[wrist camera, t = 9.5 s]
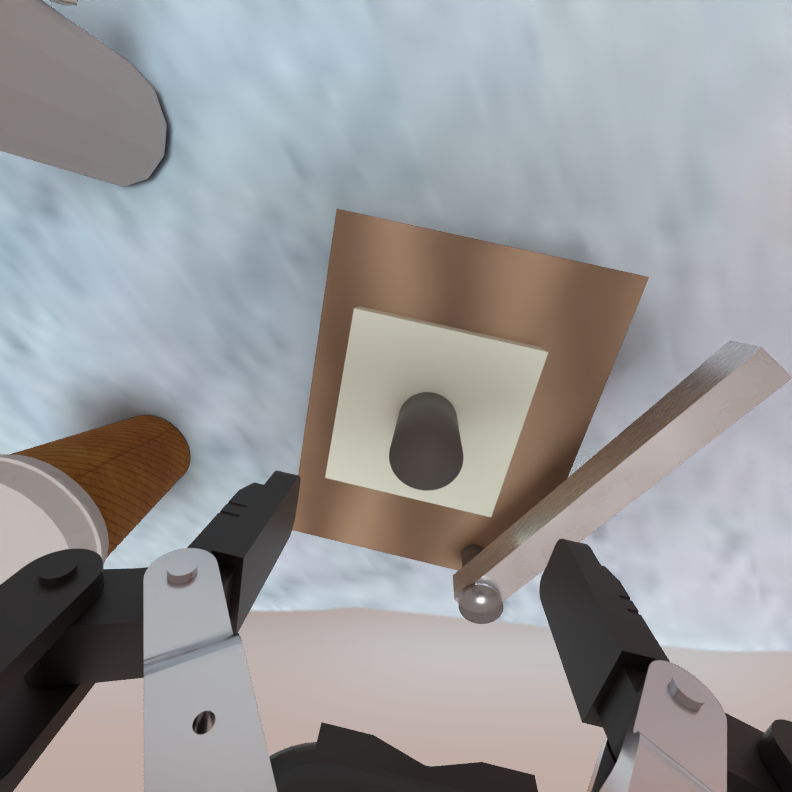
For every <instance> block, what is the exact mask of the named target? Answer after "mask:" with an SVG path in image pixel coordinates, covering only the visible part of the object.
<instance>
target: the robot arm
mask: <svg viewBox="0 0 792 792" xmlns="http://www.w3.org/2000/svg"><path fill="white" fill-rule="evenodd" d="M300 483H301V477H300V476H298V475H293V474H289V473H285V472H281V471H275V472H274V473H273V474H272V476H271V477H270V478H269V479H268V481H267V482H266V483H265V484H264V485H262V484H258V483H252V484H250V485H249V486H247V487H245V488H243V489H241V490H239V491H238V492H237V493H236V494H235V495H234V496H233V498H232V499H231V500H230V501H229V503H228V504H226V505H225V506H224V508H223V509H222V510H221V512H220V513H218V514H217V515H216V516H215V518H214V519H213V520H212V521H211V522H210V523H209V524H208V525H207V526H206V528H205V529H204V530H203V531H202V532H201V533H200V534H199V535H198V536H197V538H196V539H195V540H194V541H193V542H192V543H191V544H190V545H189V546H188V548H184V549H179V550H175V551H172V552H169V553H167V554H165V555H163V556H161V557H159V558H158V559H156V560H155V561H154V562H153V563H152V564H151V565H150V566H149V567H147V568H135V569H103V560H102V558H101V556H100V555H99V554H98V553H96V552H94V551H92V550H88V549H66V550H60V551H56V552H53V553H50V554H47V555H44V556H42V557H40V558H38V559H36V560H34V561H32V562H30V563H29V564H27V565H26V566H24V567H23V568H21V569H20V570H19V571H18V572H16V573H15V574H14V575H12V576H11V577H10V578H8V579H7V580H6V581H5V582H3V583H2V584H1V585H0V792H13V791H14V789H15V788H16V787H17V785H18V784H19V783H20V782H21V780H22V779H23V778H24V776H25V775H26V774H27V772H28V771H29V770H30V768H31V767H32V766H33V764H34V763H35V762H36V760H37V759H38V758H39V756H40V755H41V754H42V753H43V751H44V750H45V748H46V747H47V745H49V743H50V742H51V741H52V739H53V738H54V737H55V735H56V734H57V733H58V731H59V730H60V729H61V727H62V726H63V725H64V724H65V722H66V721H67V720H68V718H69V717H70V716H71V714H72V713H73V712H74V710H75V709H76V708H77V706H78V705H79V704H80V702H81V701H82V700H83V699H84V697H85V696H86V695H87V693H88V692H89V691H90V689H91V688H92V686H93V685H94V684H95V683H97V682H106V681H116V680H126V679H135V678H144V792H538V790H537V785H536V780H535V775H531V774H527V773H523V772H519V771H515V770H511V769H507V768H503V767H499V766H495V765H491V764H487V763H483V762H479V763H467V764H456V765H445V766H434V767H429V766H425V765H423V764H421V763H419V762H418V761H416V760H414V759H413V758H411V757H409V756H408V755H406V754H404V753H403V752H401V751H399V750H398V749H396V748H394V747H392V746H391V745H389V744H387V743H386V742H384V741H382V740H381V739H379V738H377V737H375V736H374V735H370V734H366V733H362V732H358V731H354V730H350V729H346V728H342V727H338V726H334V725H330V724H326V723H321V727H320V732H319V736H318V740H317V742H313V743H304V744H300V745H296V746H292V747H289V748H286V749H284V750H281V751H279V752H277V753H275V754H273V755H271V756H269V754H268V749H267V745H266V741H265V737H264V732H263V728H262V724H261V719H260V715H259V711H258V706H257V702H256V698H255V694H254V689H253V685H252V681H251V676H250V672H249V668H248V664H247V660H246V655H245V651H244V647H243V643H242V639H241V637H240V635H239V634H238V631H239V629H240V627H241V625H242V624H243V622H244V620H245V618H246V616H247V614H248V613H249V611H250V609H251V607H252V605H253V603H254V602H255V600H256V598H257V596H258V594H259V592H260V591H261V589H262V587H263V585H264V583H265V581H266V580H267V578H268V576H269V574H270V572H271V570H272V568H273V567H274V565H275V563H276V561H277V559H278V557H279V556H280V554H281V552H282V550H283V548H284V546H285V545H286V543H287V541H288V539H289V537H290V534H291V532H292V529H293V525H294V522H295V516H296V510H297V503H298V496H299V490H300ZM540 599H541V603H542V605H543V608H544V611H545V614H546V617H547V620H548V623H549V626H550V629H551V632H552V635H553V638H554V640H555V643H556V646H557V649H558V652H559V655H560V658H561V661H562V664H563V667H564V670H565V673H566V676H567V679H568V682H569V685H570V688H571V690H572V693H573V696H574V699H575V702H576V705H577V708H578V711H579V714H580V717H581V720H582V722H583V723H587V724H591V725H595V726H599V727H603V728H604V731H605V733H606V735H607V737H606V739H605V740H604V742H603V744H602V746H601V749H600V752H599V755H598V758H597V761H596V764H595V768H594V771H593V774H592V777H591V780H590V783H589V787H588V790H587V792H792V722H790V721H787V720H775V721H774V722H773V723H772V724H771V726H770V727H769V728H768V729H767V731H766V732H765V733H764V732H762V731H760V730H758V729H756V728H754V727H752V726H750V725H748V724H746V723H744V722H742V721H740V720H738V719H736V718H734V717H732V716H730V715H728V714H726V713H725V712H724V710H723V708H722V706H721V704H720V703H719V701H718V700H717V699H716V697H715V696H714V695H713V693H712V692H711V691H710V690H709V689H708V688H707V687H706V686H705V685H704V684H703V683H702V682H701V681H700V680H698V679H697V678H696V677H695V676H694V675H692V674H691V673H689V672H688V671H686V670H685V669H683V668H682V667H680V666H678V665H676V664H673V663H671V662H670V661H669V660H668V658H667V656H666V655H665V653H664V652H663V650H662V648H661V647H660V645H659V644H658V642H657V640H656V639H655V637H654V636H653V634H652V632H651V631H650V629H649V627H648V626H647V624H646V623H645V621H644V619H643V618H642V616H641V615H639V614H638V610H637V608H636V607H635V605H634V603H633V602H632V601H630V597H629V595H628V594H627V592H626V591H625V589H624V587H623V586H622V584H621V582H620V581H619V580H618V579H617V578H616V577H615V576H614V575H613V574H612V573H611V572H610V571H609V570H608V569H607V568H606V567H605V566H601V565H600V563H599V561H598V560H597V558H596V556H595V555H594V553H593V551H592V550H591V548H590V547H589V546H588V545H587V544H583V543H579V542H575V541H570V540H566V539H559V540H558V541H557V543H556V545H555V547H554V549H553V552H552V554H551V556H550V559H549V561H548V563H547V566H546V568H545V570H544V573H543V575H542V578H541V581H540Z"/></svg>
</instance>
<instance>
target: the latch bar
mask: <svg viewBox="0 0 792 792" xmlns="http://www.w3.org/2000/svg"><path fill="white" fill-rule="evenodd" d="M791 378H792V377H791V376H790V375H789V374H788V373H787V372H786V371H785V370H784V369H783V368H782V367H781V366H780V365H779V364H778V363H777V362H776V361H775V360H774V359H773V358H772V357H771V356H770V355H769V354H768V353H767V352H766V351H765V350H764V349H763V348H762V347H757V346H752V345H748V344H743V343H738V342H734V341H729V342H728V343H727V344H725V345H724V346H723V347H722V348H721V349H720V350H718V351H717V352H716V353H715V354H714V355H712V356H711V357H710V358H709V359H708V360H707V361H705V362H704V363H703V364H702V365H701V366H699V367H698V368H697V369H696V370H695V371H694V372H692V373H691V374H690V375H689V376H688V377H687V378H685V379H684V380H683V381H682V382H681V383H679V384H678V385H677V386H676V387H675V388H674V389H672V390H671V391H670V392H669V393H668V394H666V395H665V396H664V397H663V398H662V399H661V400H659V401H658V402H657V403H656V404H655V405H653V406H652V407H651V408H650V409H649V410H648V411H646V412H645V413H644V414H643V415H642V416H640V417H639V418H638V419H637V420H636V421H635V422H633V423H632V424H631V425H630V426H629V427H628V428H626V429H625V430H624V431H623V432H622V433H620V434H619V435H618V436H617V437H616V438H615V439H613V440H612V441H611V442H610V443H609V444H607V445H606V446H605V447H604V448H603V449H602V450H600V451H599V452H598V453H597V454H596V455H594V456H593V457H592V458H591V459H590V460H589V461H587V462H586V463H585V464H584V465H583V466H581V467H580V468H579V469H578V470H577V471H576V472H574V473H573V474H572V475H571V476H570V477H569V478H567V479H566V480H565V481H564V482H563V483H561V484H560V485H559V486H558V487H557V488H556V489H554V490H553V491H552V492H551V493H550V494H548V495H547V496H546V497H545V498H544V499H543V500H541V501H540V502H539V503H538V504H537V505H535V506H534V507H533V508H532V509H531V510H530V511H528V512H527V513H526V514H525V515H524V516H522V517H521V518H520V519H519V520H518V521H517V522H515V523H514V524H513V525H512V526H511V527H510V528H508V529H507V530H506V531H505V532H504V533H502V534H501V535H500V536H499V537H498V538H497V539H495V540H494V541H493V542H492V543H491V544H489V545H488V546H487V547H486V548H485V549H484V550H482V551H481V552H480V553H479V554H478V555H476V556H475V557H474V558H473V559H472V560H471V561H469V562H468V563H467V564H466V565H465V566H463V567H462V568H461V569H460V570H459V571H458V572H456V573H455V574H454V575H453V585H454V599H455V600H456V601H457V602H459V610H460V613H461V614H462V616H463V617H464V618H466V619H467V620H469V621H471V622H473V623H478V624H485V623H490V622H493V621H495V620H496V619H498V618H499V617H500V615H501V614H502V612H503V601H504V600H506V599H507V598H508V597H510V596H511V595H512V594H513V593H515V592H516V591H517V590H519V589H520V588H521V587H523V586H524V585H525V584H526V583H528V582H529V581H530V580H532V579H533V578H534V577H535V576H537V575H538V574H539V573H541V572H542V571H543V570H545V568H546V566H547V563H548V561H549V559H550V556H551V554H552V552H553V549H554V547H555V545H556V543H557V541H558V540H559V539H566V540H570V541H575V542H581V541H582V540H583V539H585V538H586V537H587V536H588V535H590V534H591V533H592V532H594V531H595V530H596V529H598V528H599V527H600V526H601V525H603V524H604V523H605V522H607V521H608V520H609V519H610V518H612V517H613V516H614V515H616V514H617V513H618V512H619V511H621V510H622V509H623V508H625V507H626V506H627V505H629V504H630V503H631V502H632V501H634V500H635V499H636V498H638V497H639V496H640V495H641V494H643V493H644V492H645V491H647V490H648V489H649V488H651V487H652V486H653V485H654V484H656V483H657V482H658V481H660V480H661V479H662V478H663V477H665V476H666V475H667V474H669V473H670V472H671V471H672V470H674V469H675V468H676V467H678V466H679V465H680V464H682V463H683V462H684V461H685V460H687V459H688V458H689V457H691V456H692V455H693V454H694V453H696V452H697V451H698V450H700V449H701V448H702V447H703V446H705V445H706V444H707V443H709V442H710V441H711V440H713V439H714V438H715V437H716V436H718V435H719V434H720V433H722V432H723V431H724V430H725V429H727V428H728V427H729V426H731V425H732V424H733V423H735V422H736V421H737V420H738V419H740V418H741V417H742V416H744V415H745V414H746V413H747V412H749V411H750V410H751V409H753V408H754V407H755V406H756V405H758V404H759V403H760V402H762V401H763V400H764V399H766V398H767V397H768V396H769V395H771V394H772V393H773V392H775V391H776V390H777V389H778V388H780V387H781V386H782V385H784V384H785V383H786V382H788V381H789V380H790V379H791Z"/></svg>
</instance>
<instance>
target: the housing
mask: <svg viewBox="0 0 792 792" xmlns="http://www.w3.org/2000/svg"><path fill="white" fill-rule="evenodd" d="M648 279H649V277H646V276H641V275H637V274H632V273H628V272H623V271H619V270H614V269H610V268H605V267H600V266H596V265H591V264H587V263H582V262H578V261H573V260H568V259H564V258H559V257H555V256H550V255H546V254H541V253H536V252H532V251H527V250H523V249H518V248H514V247H509V246H505V245H500V244H495V243H491V242H486V241H482V240H477V239H473V238H468V237H463V236H459V235H454V234H450V233H445V232H441V231H436V230H432V229H427V228H422V227H418V226H413V225H409V224H404V223H400V222H395V221H390V220H386V219H381V218H377V217H372V216H368V215H363V214H358V213H354V212H349V211H345V210H340V209H337V211H336V218H335V225H334V232H333V239H332V246H331V253H330V260H329V267H328V274H327V281H326V287H325V294H324V301H323V308H322V315H321V322H320V329H319V336H318V343H317V350H316V357H315V363H314V370H313V377H312V384H311V391H310V398H309V405H308V412H307V419H306V426H305V433H304V440H303V446H302V453H301V460H300V467H299V474H298V476H300V477H301V483H300V490H299V496H298V503H297V510H296V516H295V522H294V525H293V529H292V530H294V531H298V532H302V533H307V534H311V535H315V536H319V537H323V538H327V539H331V540H335V541H340V542H344V543H348V544H352V545H356V546H360V547H364V548H368V549H373V550H377V551H381V552H385V553H389V554H393V555H397V556H401V557H405V558H410V559H414V560H418V561H422V562H426V563H430V564H434V565H438V566H443V567H447V568H451V569H455V570H460V569H461V568H462V567H463V566H465V565H466V564H467V563H468V562H469V561H471V560H472V559H473V558H474V557H475V556H476V555H478V554H479V553H480V552H481V551H482V550H484V549H485V548H486V547H487V546H488V545H489V544H491V543H492V542H493V541H494V540H495V539H497V538H498V537H499V536H500V535H501V534H502V533H504V532H505V531H506V530H507V529H508V528H510V527H511V526H512V525H513V524H514V523H515V522H517V521H518V520H519V519H520V518H521V517H522V516H524V515H525V514H526V513H527V512H528V511H530V510H531V509H532V508H533V507H534V506H535V505H537V504H538V503H539V502H540V501H541V500H543V499H544V498H545V497H546V496H547V495H548V494H550V493H551V492H552V491H553V490H554V489H556V488H557V487H558V486H559V485H560V484H561V483H563V482H564V481H565V480H566V479H567V477H568V475H569V472H570V470H571V468H572V465H573V463H574V460H575V458H576V455H577V453H578V450H579V448H580V445H581V443H582V441H583V438H584V436H585V433H586V431H587V428H588V426H589V423H590V421H591V418H592V416H593V414H594V411H595V409H596V406H597V404H598V401H599V399H600V396H601V394H602V391H603V389H604V387H605V384H606V382H607V379H608V377H609V374H610V372H611V369H612V367H613V364H614V362H615V360H616V357H617V355H618V352H619V350H620V347H621V345H622V342H623V340H624V337H625V335H626V333H627V330H628V328H629V325H630V323H631V320H632V318H633V315H634V313H635V310H636V308H637V306H638V303H639V301H640V298H641V296H642V293H643V291H644V288H645V286H646V283H647V281H648ZM359 306H361V307H366V308H370V309H374V310H379V311H383V312H388V313H392V314H397V315H401V316H405V317H410V318H414V319H419V320H423V321H428V322H432V323H436V324H441V325H445V326H450V327H454V328H459V329H463V330H467V331H472V332H476V333H481V334H485V335H490V336H494V337H499V338H503V339H507V340H512V341H516V342H521V343H525V344H530V345H534V346H538V347H541V348H543V349H544V350H546V351H547V352H548V355H547V358H546V361H545V363H544V366H543V369H542V372H541V375H540V378H539V381H538V384H537V387H536V389H535V392H534V395H533V398H532V401H531V404H530V407H529V410H528V413H527V415H526V418H525V421H524V424H523V427H522V430H521V433H520V436H519V439H518V441H517V444H516V447H515V450H514V453H513V456H512V459H511V462H510V465H509V467H508V470H507V473H506V476H505V479H504V482H503V485H502V488H501V491H500V493H499V496H498V499H497V502H496V505H495V508H494V511H493V514H492V516H491V517H487V516H483V515H479V514H475V513H471V512H466V511H462V510H458V509H454V508H450V507H445V506H441V505H437V504H433V503H429V502H424V501H420V500H416V499H412V498H408V497H403V496H399V495H395V494H391V493H387V492H382V491H378V490H374V489H370V488H366V487H362V486H357V485H353V484H349V483H345V482H341V481H336V480H332V479H328V478H325V475H326V469H327V463H328V457H329V452H330V446H331V440H332V434H333V428H334V422H335V417H336V411H337V405H338V399H339V393H340V387H341V381H342V376H343V370H344V364H345V358H346V352H347V346H348V341H349V335H350V329H351V323H352V317H353V311H354V308H356V307H359Z"/></svg>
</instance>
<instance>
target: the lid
mask: <svg viewBox="0 0 792 792" xmlns="http://www.w3.org/2000/svg"><path fill="white" fill-rule="evenodd" d="M547 355H548V352H547V351H546V350H544V349H543V348H541V347H538V346H534V345H530V344H525V343H521V342H516V341H512V340H507V339H503V338H499V337H494V336H490V335H485V334H481V333H476V332H472V331H467V330H463V329H459V328H454V327H450V326H445V325H441V324H436V323H432V322H428V321H423V320H419V319H414V318H410V317H405V316H401V315H397V314H392V313H388V312H383V311H379V310H374V309H370V308H366V307H361V306H359V307H356V308H354V311H353V317H352V323H351V329H350V335H349V341H348V346H347V352H346V358H345V364H344V370H343V376H342V381H341V387H340V393H339V399H338V405H337V411H336V417H335V422H334V428H333V434H332V440H331V446H330V452H329V457H328V463H327V469H326V475H325V478H328V479H332V480H336V481H341V482H345V483H349V484H353V485H357V486H362V487H366V488H370V489H374V490H378V491H382V492H387V493H391V494H395V495H399V496H403V497H408V498H412V499H416V500H420V501H424V502H429V503H433V504H437V505H441V506H445V507H450V508H454V509H458V510H462V511H466V512H471V513H475V514H479V515H483V516H487V517H491V516H492V514H493V511H494V508H495V505H496V502H497V499H498V496H499V493H500V491H501V488H502V485H503V482H504V479H505V476H506V473H507V470H508V467H509V465H510V462H511V459H512V456H513V453H514V450H515V447H516V444H517V441H518V439H519V436H520V433H521V430H522V427H523V424H524V421H525V418H526V415H527V413H528V410H529V407H530V404H531V401H532V398H533V395H534V392H535V389H536V387H537V384H538V381H539V378H540V375H541V372H542V369H543V366H544V363H545V361H546V358H547Z"/></svg>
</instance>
